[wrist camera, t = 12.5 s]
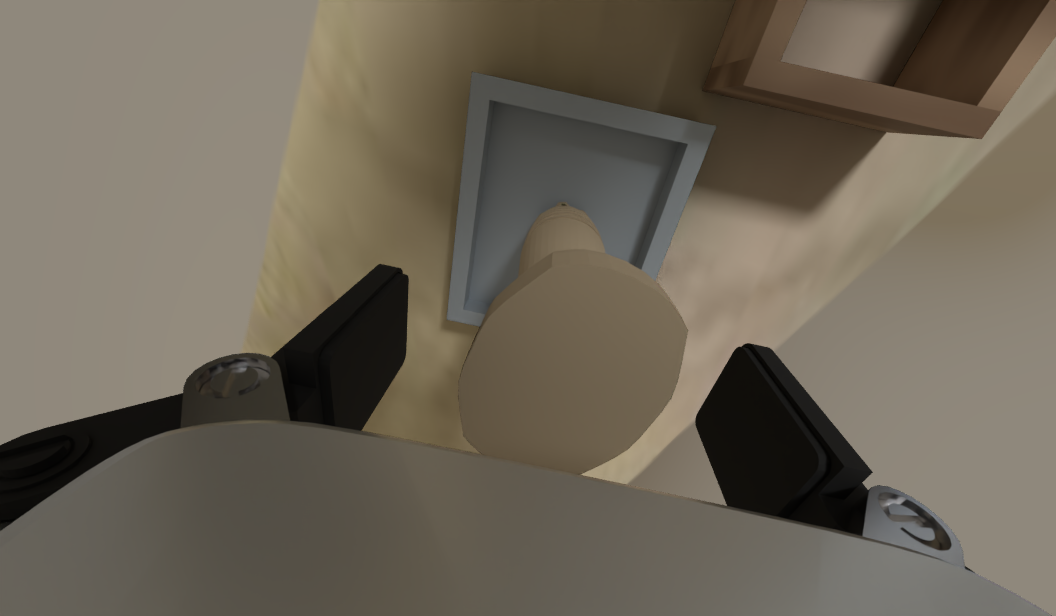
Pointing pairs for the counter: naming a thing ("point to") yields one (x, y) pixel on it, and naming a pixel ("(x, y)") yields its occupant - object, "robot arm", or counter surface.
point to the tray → (564, 181)
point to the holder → (924, 84)
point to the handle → (570, 353)
